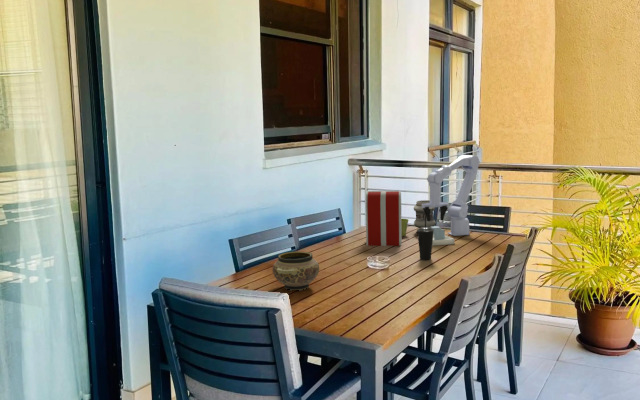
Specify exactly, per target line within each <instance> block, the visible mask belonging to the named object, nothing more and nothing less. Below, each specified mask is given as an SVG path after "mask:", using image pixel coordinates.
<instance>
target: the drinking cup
mask: <svg viewBox="0 0 640 400" xmlns="http://www.w3.org/2000/svg"><path fill="white" fill-rule="evenodd" d="M417 231H418V234H417V238H418V241H417V242H418V250H419V260H420V261H430V260H432V250H433V246H432V242H433V231H434V229H432V228H430V227H426V216H425V227H421V228H417V229H416V232H417Z"/></svg>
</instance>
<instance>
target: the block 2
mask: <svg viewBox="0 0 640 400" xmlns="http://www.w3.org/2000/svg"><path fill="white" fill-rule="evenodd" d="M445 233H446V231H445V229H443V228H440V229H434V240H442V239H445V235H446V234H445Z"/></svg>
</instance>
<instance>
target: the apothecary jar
mask: <svg viewBox="0 0 640 400" xmlns="http://www.w3.org/2000/svg"><path fill="white" fill-rule="evenodd" d="M427 203H430V199H429V200H428V199H427V200H426V199H424V200H416V204H415V205H414V206H413V211H414V212H415V220H414V221H413V225H414V226H415V227H416V228H417V229H419V228H421V227H425V216H426V214H425V212H424V210H423V208H422V204H427ZM429 209H431V210H430V221H427V218H426V227H432V226H436V223H437V222H436V220H435V219H434V211H435V210H436V207H429ZM415 234H417V235H418V231H417V230H416V231H415Z"/></svg>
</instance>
